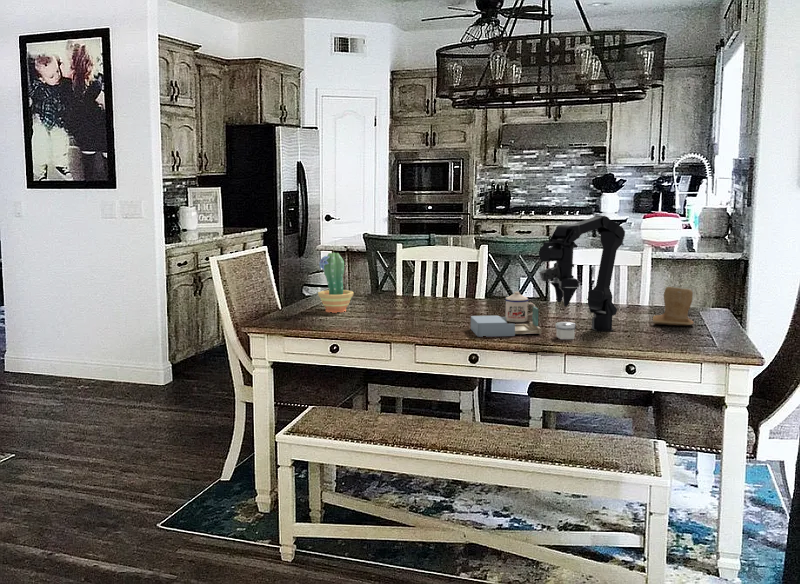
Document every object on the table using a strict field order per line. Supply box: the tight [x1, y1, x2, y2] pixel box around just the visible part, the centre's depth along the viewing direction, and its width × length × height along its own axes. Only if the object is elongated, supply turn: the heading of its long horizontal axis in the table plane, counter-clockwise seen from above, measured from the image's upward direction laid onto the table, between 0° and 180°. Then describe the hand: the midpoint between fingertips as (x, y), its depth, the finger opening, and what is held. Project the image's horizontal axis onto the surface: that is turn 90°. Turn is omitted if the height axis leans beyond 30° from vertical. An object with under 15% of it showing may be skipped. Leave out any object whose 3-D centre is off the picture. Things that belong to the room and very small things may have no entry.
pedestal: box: [555, 329, 576, 340], centre depth 280 cm, size 5×5×4 cm
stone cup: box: [652, 286, 695, 326], centre depth 303 cm, size 15×12×15 cm
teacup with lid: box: [504, 291, 536, 323], centre depth 312 cm, size 12×9×12 cm
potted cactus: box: [317, 252, 354, 314], centre depth 333 cm, size 15×15×25 cm
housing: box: [470, 315, 516, 338], centre depth 289 cm, size 14×14×5 cm
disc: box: [555, 321, 576, 330], centre depth 279 cm, size 7×7×2 cm
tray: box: [514, 306, 542, 335], centre depth 290 cm, size 14×13×8 cm
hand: (562, 304), depth 279 cm, fingers open, 9 cm apart
